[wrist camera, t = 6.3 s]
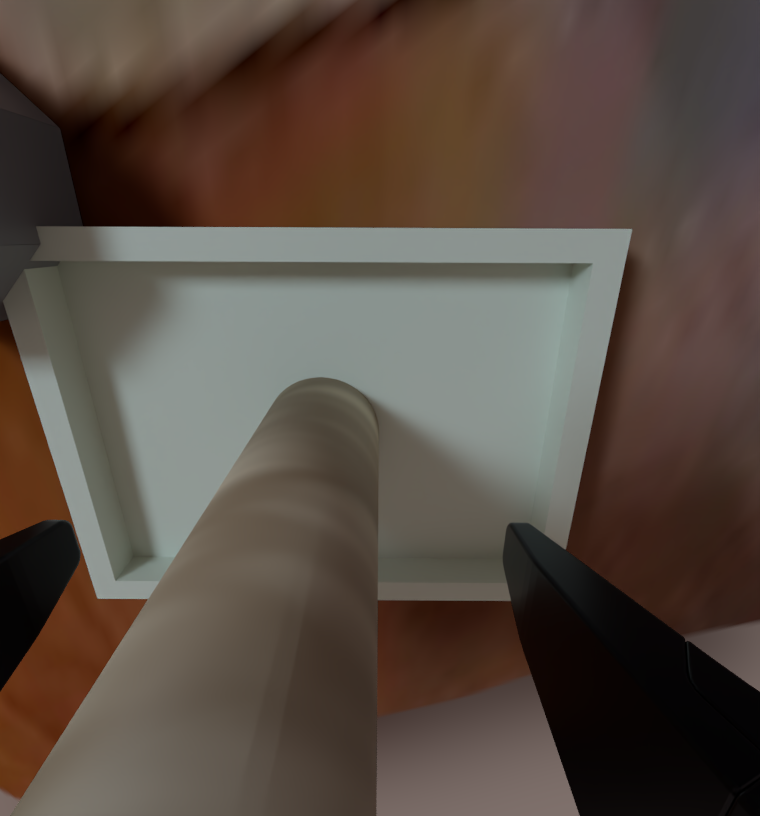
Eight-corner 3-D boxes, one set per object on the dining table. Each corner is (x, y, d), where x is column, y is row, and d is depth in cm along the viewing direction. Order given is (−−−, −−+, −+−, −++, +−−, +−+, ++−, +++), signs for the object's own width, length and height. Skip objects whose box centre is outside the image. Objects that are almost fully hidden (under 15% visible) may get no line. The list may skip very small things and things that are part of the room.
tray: (597, 229, 12) (632, 229, 10) (537, 564, 17) (555, 601, 15) (34, 227, 12) (-22, 226, 11) (125, 562, 17) (97, 598, 15)
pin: (379, 377, 13) (374, 860, 3) (378, 478, 15) (375, 1050, 4) (261, 376, 13) (-140, 860, 3) (272, 478, 15) (19, 1049, 4)
